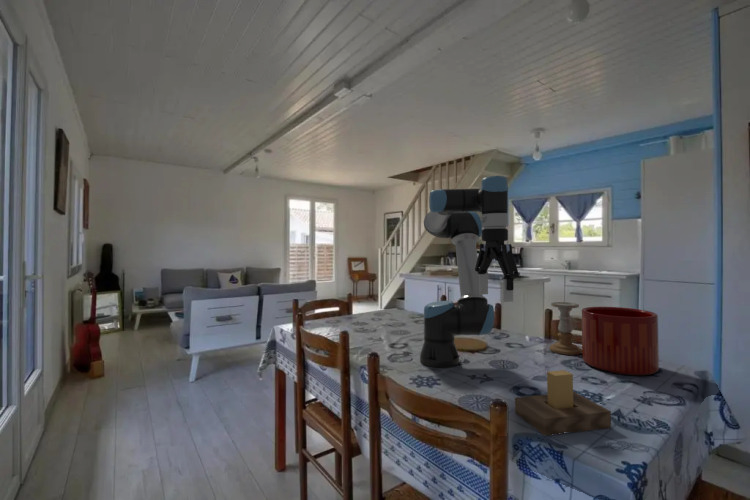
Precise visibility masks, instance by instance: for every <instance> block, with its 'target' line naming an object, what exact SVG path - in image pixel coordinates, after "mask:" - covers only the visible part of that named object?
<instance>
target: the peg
mask: <svg viewBox="0 0 750 500" xmlns="http://www.w3.org/2000/svg"><path fill="white" fill-rule="evenodd" d="M573 375H574V374H573V373H572V372H570V371H566V370H564V369H563V370H561V369H560V370H552V371H549V370H548V371H546V379H547V380H546V382H547V383H546V384H547V385H546V386H547V394H548V405H549V406H551V407H552V408H554V409H564V408H573V392H574V378H573V377H574V376H573ZM547 394H546V395H547Z"/></svg>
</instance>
